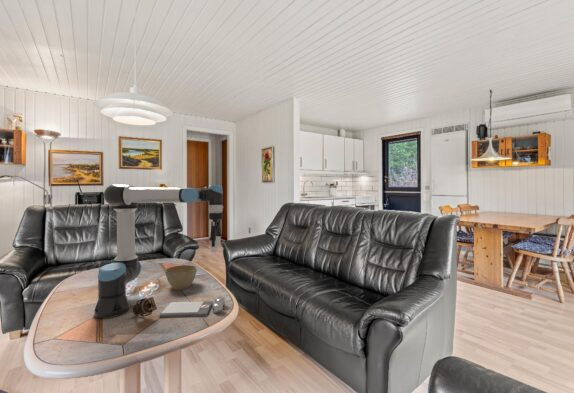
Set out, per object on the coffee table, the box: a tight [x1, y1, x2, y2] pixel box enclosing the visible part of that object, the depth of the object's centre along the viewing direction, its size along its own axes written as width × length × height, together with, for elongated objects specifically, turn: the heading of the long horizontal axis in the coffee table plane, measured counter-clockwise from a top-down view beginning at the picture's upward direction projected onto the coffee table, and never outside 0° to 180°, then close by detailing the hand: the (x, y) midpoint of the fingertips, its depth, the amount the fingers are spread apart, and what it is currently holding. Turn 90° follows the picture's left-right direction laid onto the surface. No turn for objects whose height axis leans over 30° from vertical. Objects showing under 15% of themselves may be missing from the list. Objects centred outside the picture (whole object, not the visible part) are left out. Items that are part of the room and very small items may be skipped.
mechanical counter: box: [132, 296, 158, 318], centre depth 130 cm, size 7×13×10 cm, turn 78°
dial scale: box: [158, 300, 214, 318], centre depth 139 cm, size 22×15×2 cm
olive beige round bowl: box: [165, 264, 198, 291], centre depth 171 cm, size 18×18×12 cm
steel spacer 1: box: [214, 296, 226, 308], centre depth 144 cm, size 5×5×4 cm
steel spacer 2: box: [212, 301, 224, 315], centre depth 137 cm, size 5×5×4 cm
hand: (215, 249), depth 156 cm, fingers open, 13 cm apart
